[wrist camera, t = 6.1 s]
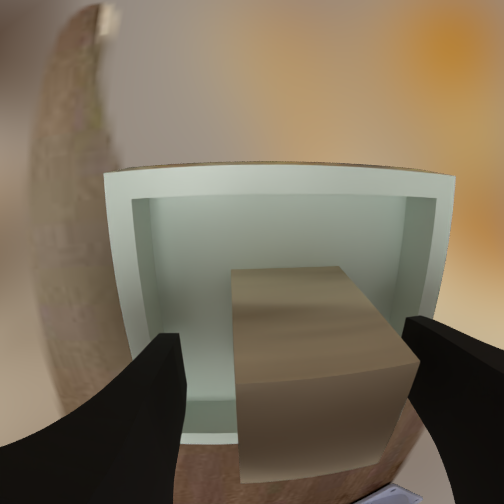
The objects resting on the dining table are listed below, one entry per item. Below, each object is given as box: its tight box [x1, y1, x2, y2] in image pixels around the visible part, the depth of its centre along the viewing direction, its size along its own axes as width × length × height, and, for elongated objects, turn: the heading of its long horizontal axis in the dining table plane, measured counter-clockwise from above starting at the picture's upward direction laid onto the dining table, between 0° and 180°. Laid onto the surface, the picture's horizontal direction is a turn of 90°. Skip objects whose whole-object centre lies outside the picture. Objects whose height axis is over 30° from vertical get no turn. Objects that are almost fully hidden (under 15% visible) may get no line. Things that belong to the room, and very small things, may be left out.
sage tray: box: [104, 161, 456, 444], centre depth 11 cm, size 11×11×2 cm
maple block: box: [231, 266, 420, 483], centre depth 9 cm, size 4×4×6 cm
